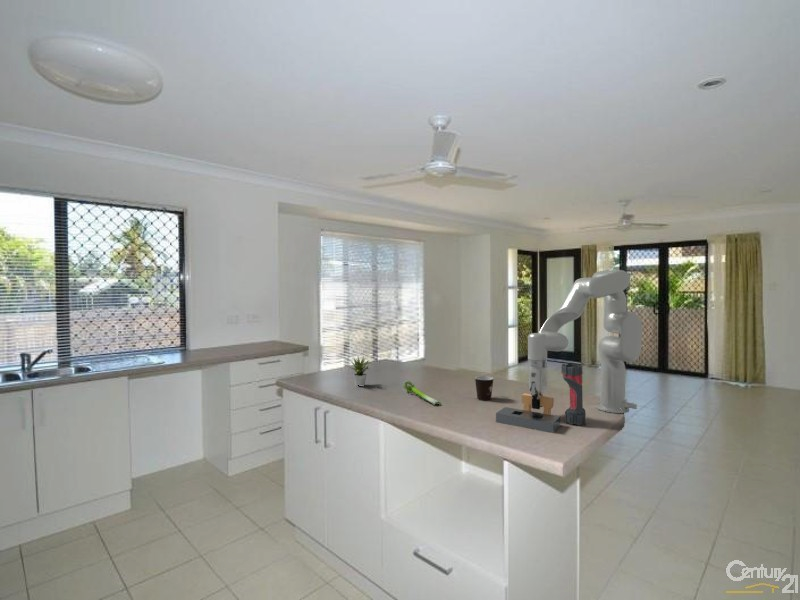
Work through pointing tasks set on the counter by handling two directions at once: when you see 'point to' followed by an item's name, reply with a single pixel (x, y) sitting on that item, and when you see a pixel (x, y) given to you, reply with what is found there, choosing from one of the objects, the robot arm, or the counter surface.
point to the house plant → (359, 371)
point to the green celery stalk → (420, 393)
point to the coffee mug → (484, 387)
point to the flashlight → (574, 394)
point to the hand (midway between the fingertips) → (537, 407)
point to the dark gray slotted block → (528, 419)
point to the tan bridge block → (544, 402)
